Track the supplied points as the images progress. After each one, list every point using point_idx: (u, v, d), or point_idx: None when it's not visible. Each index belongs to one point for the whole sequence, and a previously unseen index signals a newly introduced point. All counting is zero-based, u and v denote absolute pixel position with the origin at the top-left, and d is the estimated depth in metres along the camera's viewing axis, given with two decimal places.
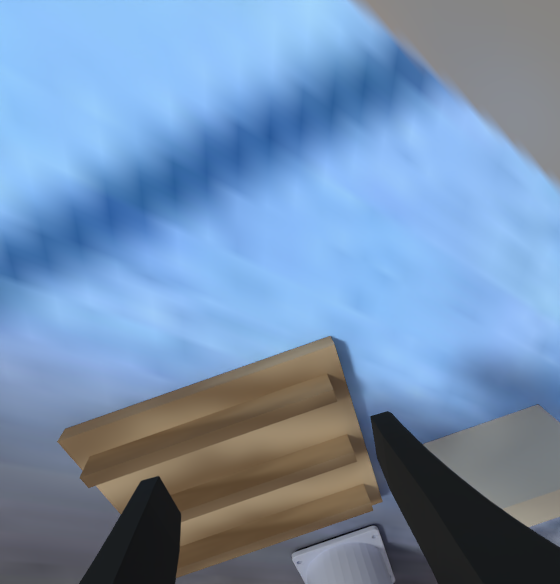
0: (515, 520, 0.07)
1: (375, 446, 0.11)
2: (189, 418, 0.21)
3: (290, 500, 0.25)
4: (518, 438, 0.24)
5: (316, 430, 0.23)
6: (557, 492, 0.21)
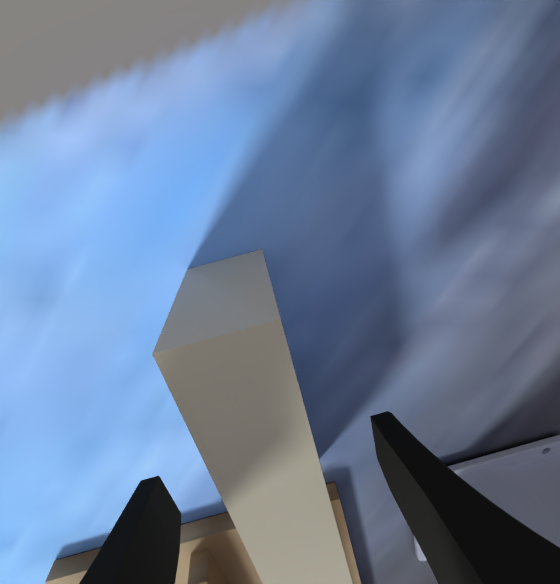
0: (515, 520, 0.07)
1: (375, 446, 0.11)
2: None
3: None
4: None
5: (180, 578, 0.19)
6: (214, 465, 0.09)
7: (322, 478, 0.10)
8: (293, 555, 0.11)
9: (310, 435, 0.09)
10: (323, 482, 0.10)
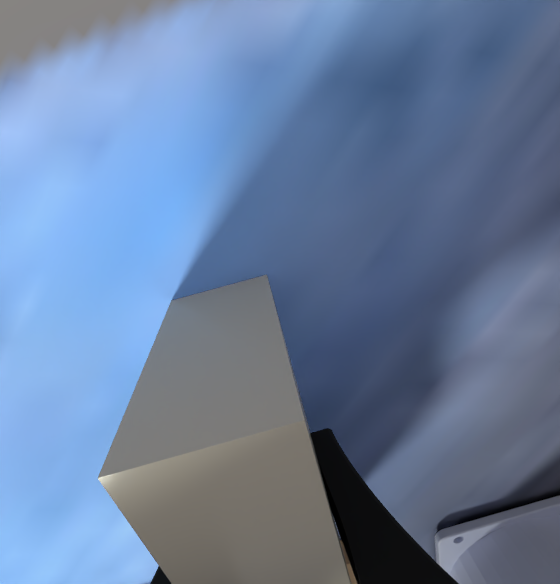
0: (418, 548, 0.07)
1: None
2: None
3: None
4: None
5: None
6: None
7: None
8: None
9: (342, 564, 0.06)
10: None
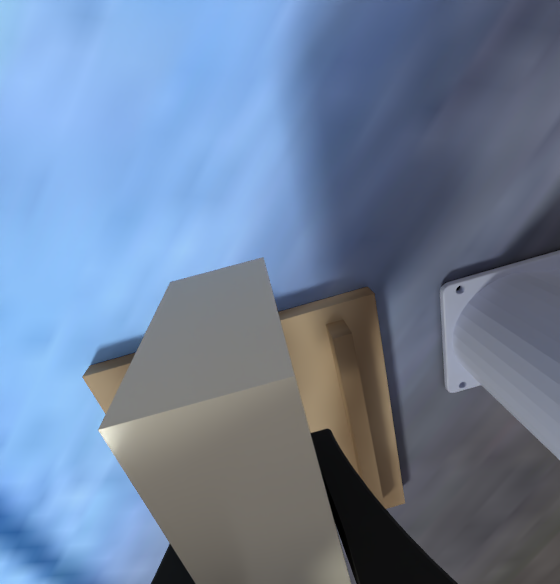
0: (417, 548, 0.07)
1: None
2: None
3: (329, 406, 0.20)
4: None
5: None
6: (198, 567, 0.06)
7: (346, 575, 0.07)
8: None
9: (332, 525, 0.07)
10: (347, 579, 0.07)
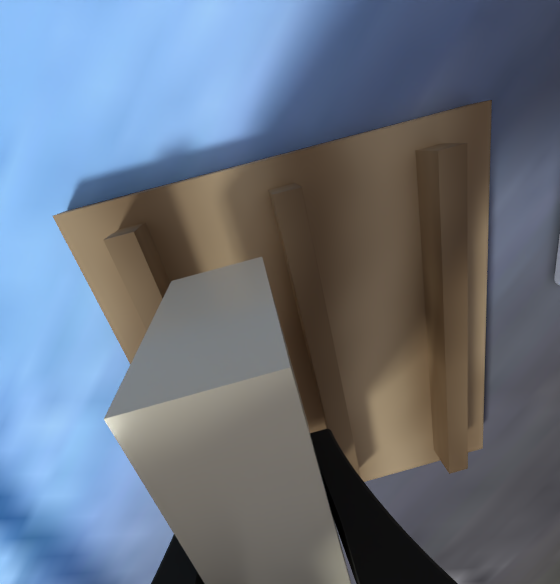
0: (417, 548, 0.07)
1: None
2: None
3: (405, 292, 0.15)
4: None
5: (248, 247, 0.13)
6: (199, 554, 0.07)
7: (342, 563, 0.07)
8: None
9: (328, 513, 0.07)
10: (344, 567, 0.08)
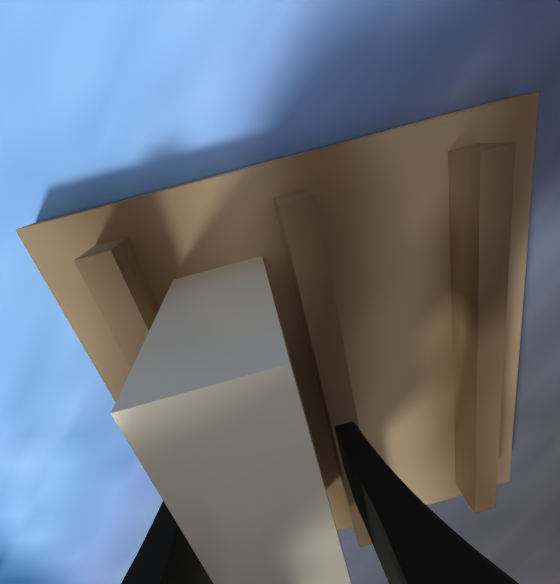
0: (457, 537, 0.07)
1: (341, 456, 0.11)
2: None
3: (430, 314, 0.13)
4: None
5: None
6: (201, 544, 0.07)
7: (340, 553, 0.08)
8: None
9: (327, 505, 0.07)
10: (341, 557, 0.08)
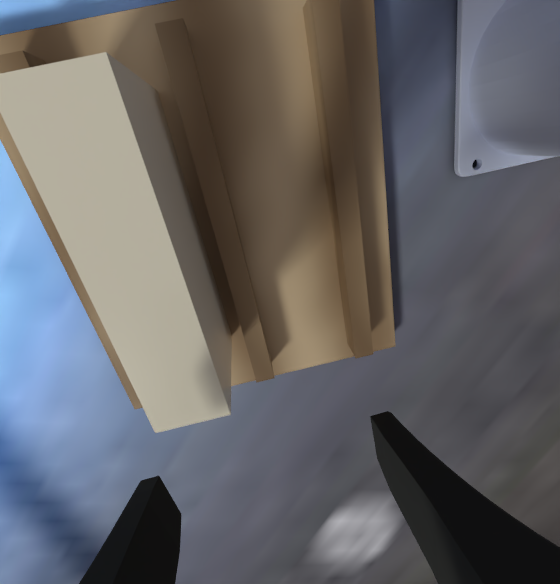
0: (515, 520, 0.07)
1: (375, 446, 0.11)
2: None
3: (305, 163, 0.15)
4: None
5: None
6: (64, 229, 0.10)
7: (176, 260, 0.10)
8: (160, 358, 0.12)
9: (156, 204, 0.10)
10: (178, 266, 0.11)
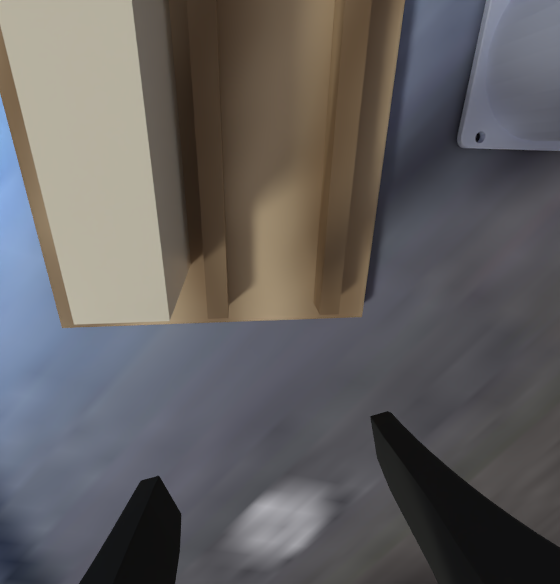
0: (515, 520, 0.07)
1: (375, 446, 0.11)
2: None
3: (309, 83, 0.14)
4: None
5: None
6: (6, 10, 0.08)
7: (141, 98, 0.09)
8: (98, 225, 0.10)
9: (131, 13, 0.08)
10: (142, 107, 0.09)
